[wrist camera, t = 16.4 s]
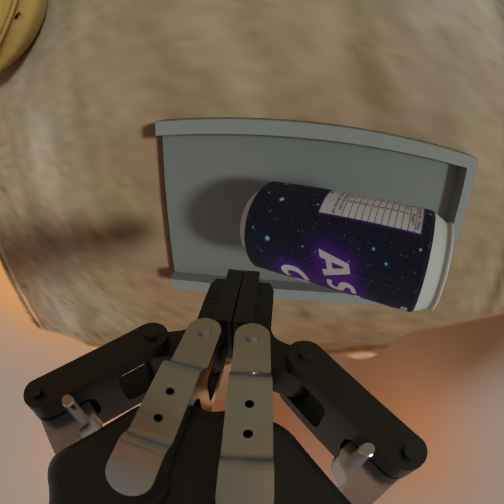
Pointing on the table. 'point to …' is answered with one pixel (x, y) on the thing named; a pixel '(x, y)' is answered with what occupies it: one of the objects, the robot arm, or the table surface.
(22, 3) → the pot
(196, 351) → the robot arm
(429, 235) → the beverage can
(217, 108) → the table surface
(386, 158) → the gray tray
